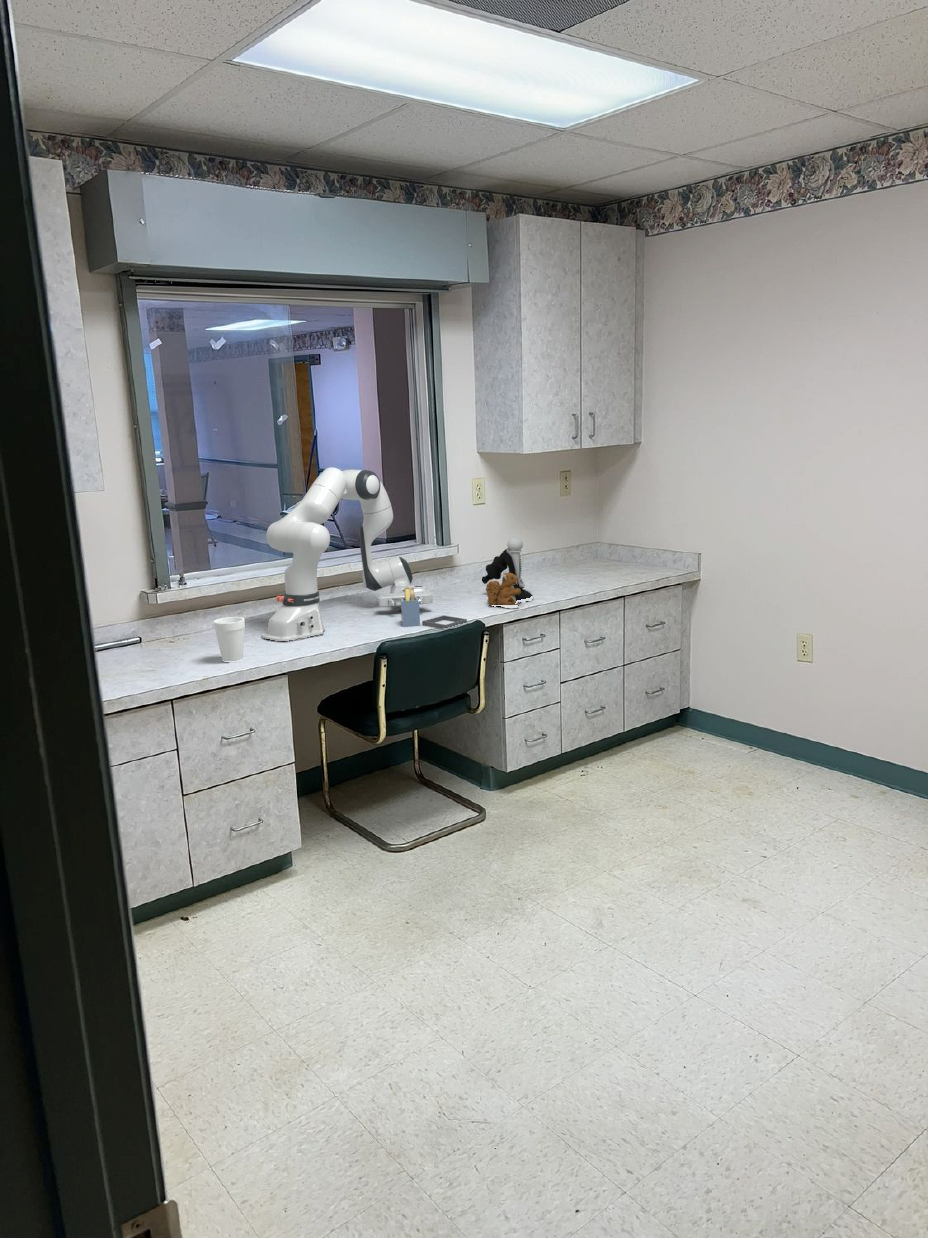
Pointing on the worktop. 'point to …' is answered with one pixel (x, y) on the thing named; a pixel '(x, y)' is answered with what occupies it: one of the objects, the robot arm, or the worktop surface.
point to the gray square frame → (436, 625)
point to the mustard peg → (407, 595)
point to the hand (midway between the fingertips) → (407, 603)
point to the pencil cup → (410, 612)
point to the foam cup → (230, 637)
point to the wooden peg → (412, 594)
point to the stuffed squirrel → (503, 590)
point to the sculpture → (510, 560)
